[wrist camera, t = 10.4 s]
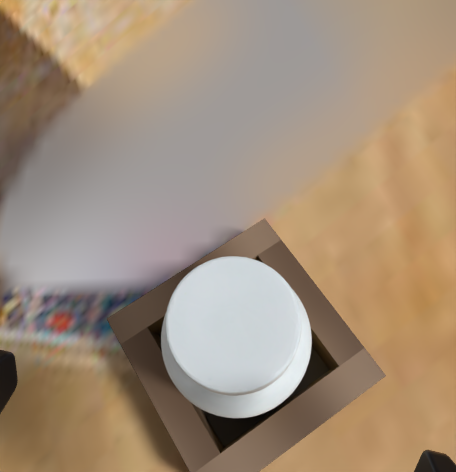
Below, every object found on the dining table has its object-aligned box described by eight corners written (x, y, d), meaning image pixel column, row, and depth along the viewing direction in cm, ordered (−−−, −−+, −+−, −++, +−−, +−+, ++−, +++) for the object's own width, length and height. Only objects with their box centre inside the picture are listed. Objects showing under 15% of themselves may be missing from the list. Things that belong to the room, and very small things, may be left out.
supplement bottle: (264, 435, 20) (275, 464, 11) (167, 379, 21) (103, 363, 12) (311, 332, 21) (354, 281, 12) (218, 285, 22) (196, 208, 13)
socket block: (215, 492, 19) (210, 508, 16) (124, 329, 22) (106, 318, 19) (367, 379, 21) (386, 375, 18) (262, 239, 24) (264, 218, 21)
